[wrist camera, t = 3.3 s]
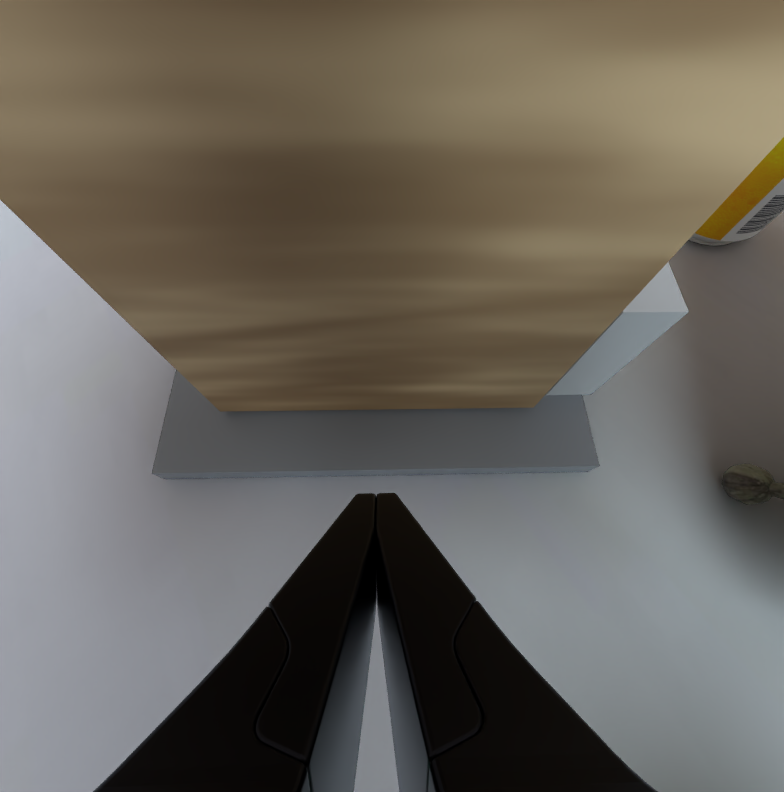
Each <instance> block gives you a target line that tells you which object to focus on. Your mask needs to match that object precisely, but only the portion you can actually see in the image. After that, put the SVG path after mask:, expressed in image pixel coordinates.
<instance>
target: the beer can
mask: <svg viewBox="0 0 784 792" xmlns="http://www.w3.org/2000/svg"><path fill="white" fill-rule="evenodd" d="M783 210H784V137H783V138H782V139H781V140H780V141H779V142H778V144H777V145H776V146H775V147H774V148H773V149H772V150H771V151H770V152H769V153H768V154H767V155H766V156H765V158H764V159H763V160H762V161H761V162H760V163H759V164H758V165H757V166H756V167H755V168H754V169H753V171H752V172H751V173H750V174H749V175H748V176H747V177H746V178H745V179H744V180H743V181H742V182H741V184H740V185H739V186H738V187H737V188H736V189H735V190H734V191H733V192H732V193H731V194H730V195H729V197H728V198H727V199H726V200H725V201H724V202H723V203H722V204H721V205H720V206H719V207H718V208H717V209H716V211H715V212H714V213H713V214H712V215H711V216H710V217H709V218H708V219H707V220H706V221H705V222H704V224H703V225H702V226H701V227H700V228H699V229H698V230H697V231H696V232H695V233H694V234H693V235H692V237H691V238H690V239H689V240H690V241H692V242H695V243H699V244H704V245H711V246H718V245H725V244H729V243H732V242H734V241H741V240H745V239H749V238H751V237H753V236H755V235H756V234H758V233H759V232H760V231H761V230H762V229H763V228H764V227H765V226H767V225H768V224H769V223H770V222H771V221H772V220H773V219H774V218H775V217H777V216H778V215H779V214H780V213H781V212H782V211H783Z"/></svg>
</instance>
